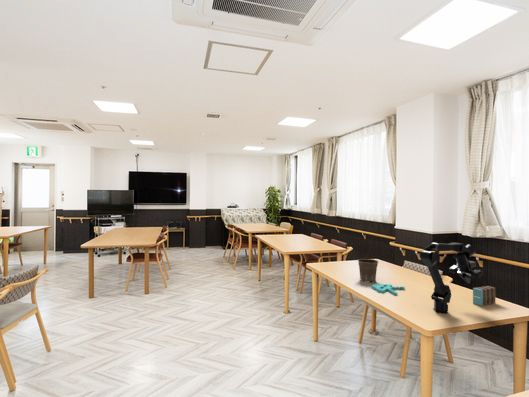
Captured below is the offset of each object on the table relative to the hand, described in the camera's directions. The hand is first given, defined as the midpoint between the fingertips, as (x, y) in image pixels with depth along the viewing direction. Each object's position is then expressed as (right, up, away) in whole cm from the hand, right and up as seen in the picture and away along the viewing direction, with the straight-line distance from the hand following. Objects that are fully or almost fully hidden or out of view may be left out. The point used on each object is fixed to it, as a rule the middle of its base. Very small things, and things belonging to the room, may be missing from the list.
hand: (469, 283), depth 197 cm
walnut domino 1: (+11, -14, +5) cm, 19 cm away
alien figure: (-38, -15, +36) cm, 54 cm away
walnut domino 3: (+19, -14, +7) cm, 25 cm away
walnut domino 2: (+15, -14, +6) cm, 22 cm away
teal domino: (+8, -14, +3) cm, 16 cm away
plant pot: (-43, -14, +63) cm, 77 cm away
